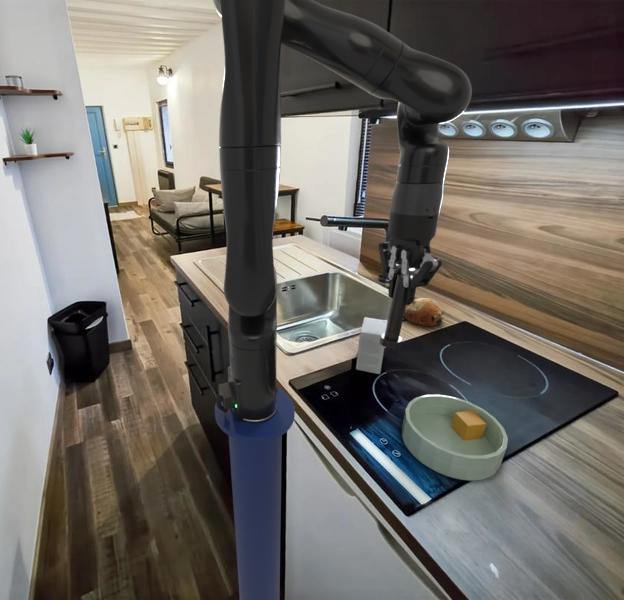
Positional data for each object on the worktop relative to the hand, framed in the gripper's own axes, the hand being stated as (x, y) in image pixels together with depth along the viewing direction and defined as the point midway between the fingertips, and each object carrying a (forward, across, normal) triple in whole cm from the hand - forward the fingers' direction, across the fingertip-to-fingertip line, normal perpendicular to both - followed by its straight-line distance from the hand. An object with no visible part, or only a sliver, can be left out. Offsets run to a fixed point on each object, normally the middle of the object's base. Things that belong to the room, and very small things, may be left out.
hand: (400, 300), depth 69 cm
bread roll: (+23, -25, +32) cm, 47 cm away
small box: (+23, -11, +4) cm, 26 cm away
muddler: (+9, 0, -1) cm, 10 cm away
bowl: (+23, +15, +2) cm, 27 cm away
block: (+22, +14, +7) cm, 27 cm away
